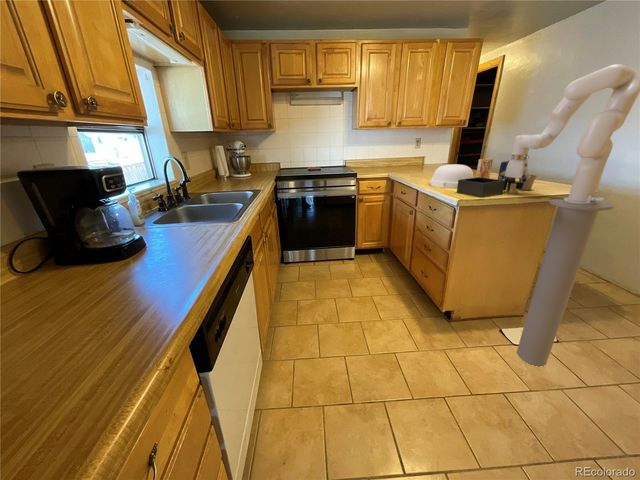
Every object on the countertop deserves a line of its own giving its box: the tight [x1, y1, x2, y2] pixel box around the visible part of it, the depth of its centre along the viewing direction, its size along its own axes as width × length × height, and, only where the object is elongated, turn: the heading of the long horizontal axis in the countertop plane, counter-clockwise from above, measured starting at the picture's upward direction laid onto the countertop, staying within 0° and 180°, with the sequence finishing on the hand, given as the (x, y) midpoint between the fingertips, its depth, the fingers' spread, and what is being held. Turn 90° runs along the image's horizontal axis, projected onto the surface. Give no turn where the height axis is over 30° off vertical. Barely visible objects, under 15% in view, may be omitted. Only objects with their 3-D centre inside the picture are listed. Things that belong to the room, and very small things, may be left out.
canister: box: [497, 160, 517, 190], centre depth 169 cm, size 10×10×18 cm
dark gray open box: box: [456, 177, 505, 198], centre depth 162 cm, size 18×18×8 cm
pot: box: [504, 179, 520, 195], centre depth 159 cm, size 7×7×7 cm
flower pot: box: [519, 174, 538, 191], centre depth 166 cm, size 9×9×9 cm
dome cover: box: [429, 163, 474, 189], centre depth 192 cm, size 32×30×14 cm
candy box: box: [475, 158, 494, 179], centre depth 208 cm, size 9×4×15 cm, turn 91°
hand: (512, 187), depth 160 cm, fingers open, 8 cm apart
